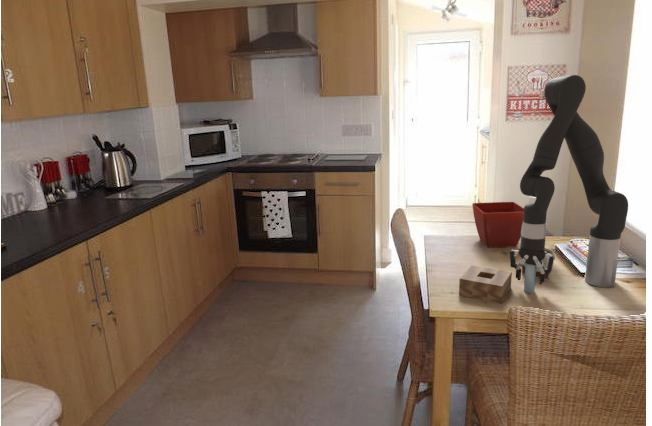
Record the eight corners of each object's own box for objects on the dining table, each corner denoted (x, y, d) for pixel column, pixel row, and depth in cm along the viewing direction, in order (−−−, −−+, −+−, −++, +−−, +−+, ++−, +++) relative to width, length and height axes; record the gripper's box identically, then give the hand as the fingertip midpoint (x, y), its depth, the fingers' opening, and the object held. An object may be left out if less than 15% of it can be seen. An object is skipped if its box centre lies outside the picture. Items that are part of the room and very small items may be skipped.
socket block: (510, 287, 166) (511, 271, 165) (501, 303, 155) (502, 286, 154) (470, 280, 174) (471, 265, 172) (458, 294, 163) (459, 278, 161)
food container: (558, 276, 175) (560, 250, 173) (552, 281, 171) (554, 254, 168) (524, 268, 183) (526, 244, 181) (518, 273, 179) (519, 248, 177)
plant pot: (470, 237, 223) (471, 202, 219) (511, 236, 223) (513, 201, 219) (482, 250, 205) (483, 212, 201) (526, 249, 204) (529, 211, 200)
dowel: (535, 290, 164) (537, 263, 161) (533, 294, 161) (535, 266, 159) (524, 288, 166) (526, 261, 163) (522, 292, 163) (524, 264, 160)
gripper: (558, 234, 157) (554, 281, 162) (513, 229, 165) (510, 274, 169) (555, 240, 151) (551, 289, 156) (508, 235, 159) (505, 281, 163)
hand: (529, 281), depth 162 cm, fingers open, 6 cm apart
